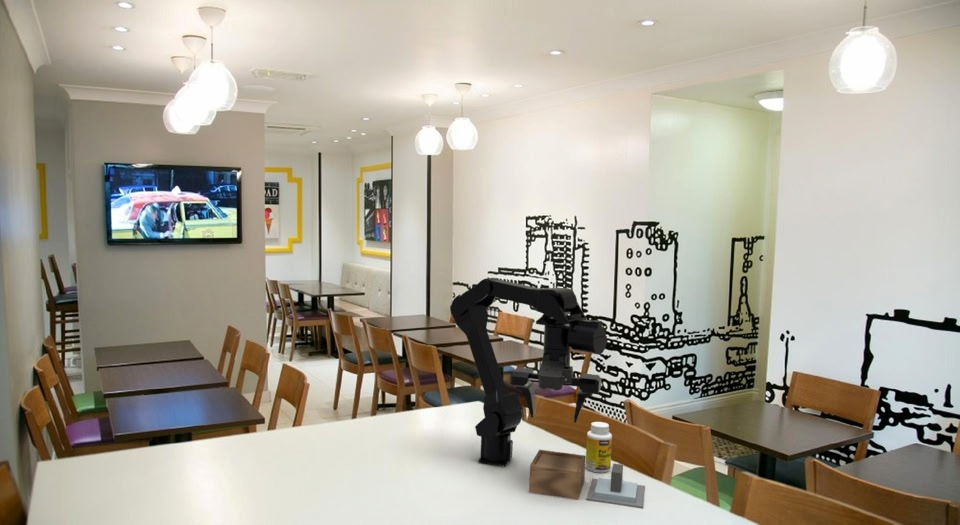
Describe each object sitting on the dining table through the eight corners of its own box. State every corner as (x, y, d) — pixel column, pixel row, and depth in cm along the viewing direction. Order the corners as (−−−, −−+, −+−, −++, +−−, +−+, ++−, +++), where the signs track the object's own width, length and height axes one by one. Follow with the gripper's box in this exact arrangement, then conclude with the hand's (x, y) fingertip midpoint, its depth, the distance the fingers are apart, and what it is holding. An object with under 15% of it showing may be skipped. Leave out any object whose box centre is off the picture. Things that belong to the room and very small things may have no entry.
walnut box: (528, 492, 133) (530, 465, 133) (538, 474, 143) (539, 449, 142) (578, 499, 130) (579, 472, 130) (584, 481, 140) (585, 455, 140)
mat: (586, 499, 130) (586, 498, 130) (592, 479, 141) (592, 478, 141) (643, 508, 127) (643, 506, 127) (644, 487, 138) (644, 485, 138)
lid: (594, 496, 131) (595, 472, 131) (598, 482, 139) (599, 459, 139) (635, 502, 129) (636, 478, 129) (637, 487, 137) (638, 464, 137)
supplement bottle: (597, 475, 144) (599, 429, 143) (580, 466, 148) (582, 422, 148) (615, 470, 147) (617, 425, 146) (598, 462, 151) (600, 419, 151)
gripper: (505, 350, 134) (502, 425, 135) (597, 358, 129) (593, 436, 130) (517, 341, 145) (514, 411, 146) (602, 348, 140) (599, 420, 141)
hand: (553, 419), depth 140 cm, fingers open, 9 cm apart
